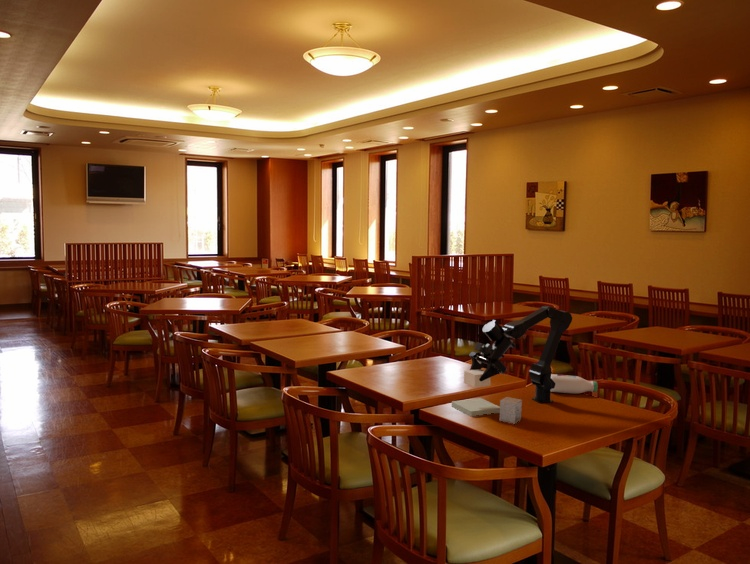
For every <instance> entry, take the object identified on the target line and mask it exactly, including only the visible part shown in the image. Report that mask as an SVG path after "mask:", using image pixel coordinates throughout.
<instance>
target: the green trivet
mask: <svg viewBox="0 0 750 564" xmlns="http://www.w3.org/2000/svg"><path fill="white" fill-rule="evenodd" d="M451 407H452V408H454V409H456V410H457V411H460V412H462V413H463V414H465V415H467V416H470V417H471V416H472V417H477V416H476V415H479V416H484V415H483V414H487V415H492V414H491V413H494V414H500V405H497V404H494V403H492V402H491V401H488V400H486V399H484V398H482V397H478V398H471V399H470V398H469V399H461V400H452V401H451Z"/></svg>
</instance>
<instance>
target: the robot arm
mask: <svg viewBox="0 0 750 564" xmlns="http://www.w3.org/2000/svg"><path fill="white" fill-rule="evenodd" d="M545 319H550V320H549V327H550V331H549V333H548V336H547V339H546V342H545V344H544V347H543V350H542V353H541V354H540V358H539V359H538V361H537V362H536V363H534V362H533V363H531V366H530V367H531V368H530V369H529V370H528V373H529V376H528V377H529V379H530V381H531V384H532V385H534V386H535V392H534V393H535V394H534V397H531V400H533V401H535V402H537V403H538V404H546V403H554V400H552V399H551V393H552V392H551V389H553V388H554V387H555V382H554V381H553V380H552V379H551V374H552V373H553V372H552V371H553V370H552V367H551V366H552V363H553V360H554V357H555V354H556V352H557V349H558V345H559V344H560V341H561V338H562V335H563V333H564V332H566V331H567V330H568V329H569V327H570V325H571V324H572V322H573V317H572V314H571V312H569V311H565V310H561V309H560V310H559V309H556V308H554V307H552V306H548V305H543V306H541V307H540V308H538V309H536V310H535V311H533V312H532V313H530V314H528V315H526V316H525V317H523V318H521V319H518V320H513V321H510V322H507V323H505V324H504V325H500V323H499V321H497V320H496V319H492V321H489V322H487V323H485V324H484V325H483V327H482V333H484V334H485V335H486V337H488V339H489V340H490V341H491V342H493V343H492V344H490V343H486V344H483V343H481V342H478V341H476V344H475V347H474V350H472V351H471V352H470V353H469V354H468V356H469V357H470V359H471V365H470V369H469V370H476V369H481V370H482V369H483V366H484V365H485V364H486V368H485V370H484V373H483V374H482V376H481V377H480V379H479V380H480V381H483V380H485V379H488V378H490V377H494V376H497V375H500V374H502V375H504V374H505V373H506V372H507V366H506V365H505V364H504V363H503V362H502V360H501V359H504V357H505V355H504V354H505V353H506V352H507V351H508V349H509V348H514V349H515V348H516V344H515V342H516V341H515V339H516V340H519V339H521V338H522V337H523V336H524V335H525V334H526V333H527V331H528V330H529V329H530V328H532V327H533V326H536V325H537V324H539V323H540V322H542V321H544V320H545ZM511 338H512V339H511ZM513 339H514V340H513Z"/></svg>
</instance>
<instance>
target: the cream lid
mask: <svg viewBox="0 0 750 564" xmlns="http://www.w3.org/2000/svg"><path fill="white" fill-rule="evenodd" d="M484 371H485V370H483V369H482V368H481V369H476V370H470V369H467V370H464V371H463V372H464V374H463V384H465V385H467V386H470V387H472V388H484V387H491V379H492V378H491V377H490V378H488V379H485V380H483V381H480V380H479V379H480V377H481V376H482V374H483V373H484Z"/></svg>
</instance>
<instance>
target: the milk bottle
mask: <svg viewBox="0 0 750 564" xmlns="http://www.w3.org/2000/svg"><path fill="white" fill-rule="evenodd" d="M551 379H552V380H553V381H554V382H555V387H554V388H553V389H551V391H550V392H551V393H561V394H574V395H575V394H582V393H587V392H592V393H597V391H598V387H599V386H598V381H595V380H587V379H584V378H583V377H581V376H577V375H566V374H551Z"/></svg>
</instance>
